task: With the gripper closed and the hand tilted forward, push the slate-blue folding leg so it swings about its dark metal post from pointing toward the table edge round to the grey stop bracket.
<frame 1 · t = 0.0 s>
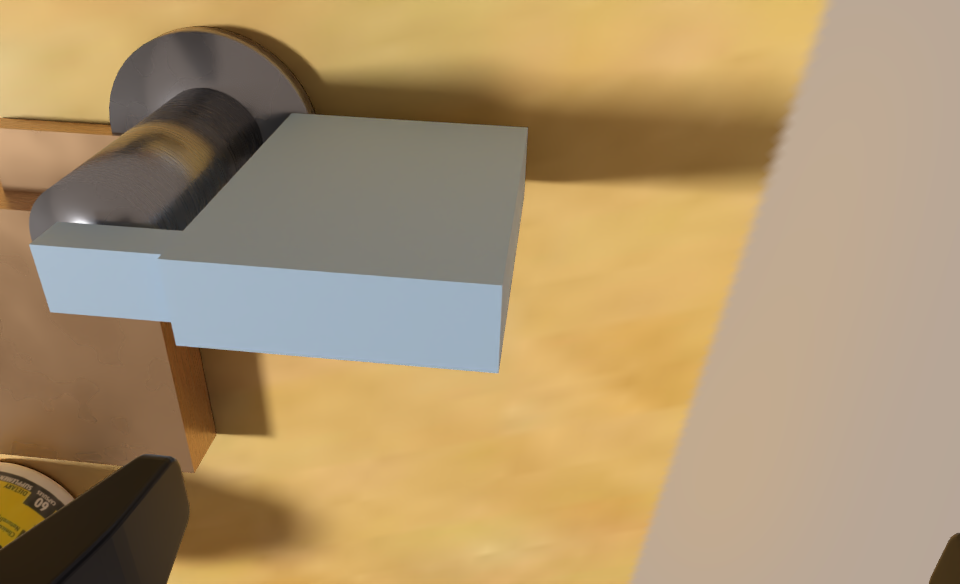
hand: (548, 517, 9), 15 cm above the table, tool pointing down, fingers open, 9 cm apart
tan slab: (220, 131, 23), on the table
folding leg: (317, 216, 19), point 5 cm above the table, hinge at 0.0°
supplement bottle: (28, 501, 33), on the table
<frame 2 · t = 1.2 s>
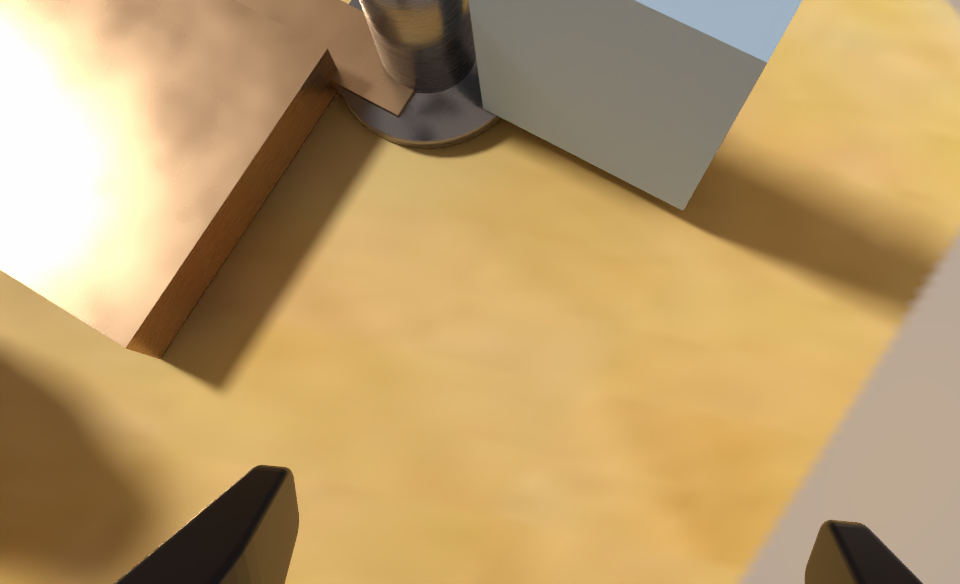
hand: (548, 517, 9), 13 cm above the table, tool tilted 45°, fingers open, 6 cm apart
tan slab: (431, 58, 25), on the table
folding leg: (557, 31, 19), point 5 cm above the table, hinge at 0.0°
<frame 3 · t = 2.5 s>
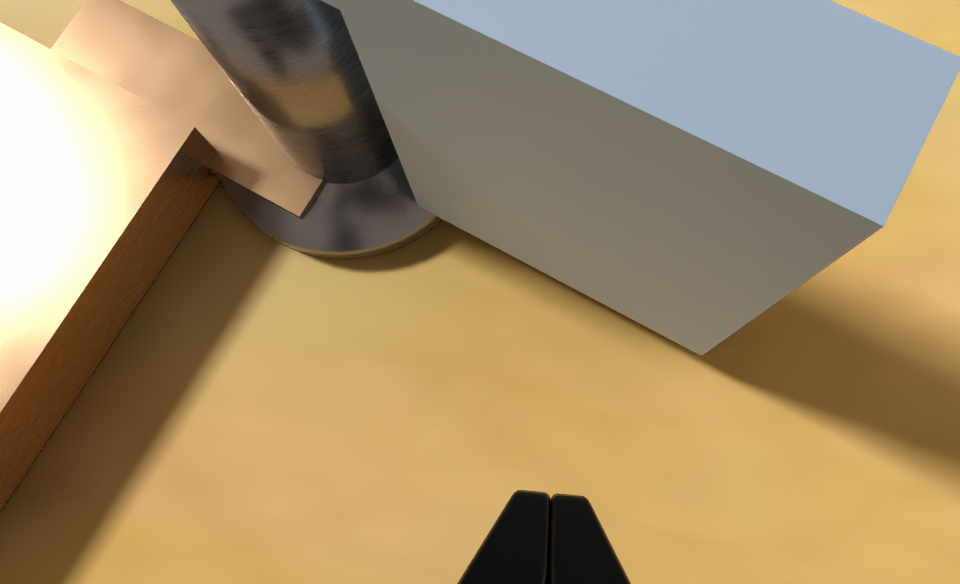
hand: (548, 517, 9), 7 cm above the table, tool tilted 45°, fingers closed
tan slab: (350, 131, 18), on the table
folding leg: (513, 118, 13), point 5 cm above the table, hinge at 0.0°
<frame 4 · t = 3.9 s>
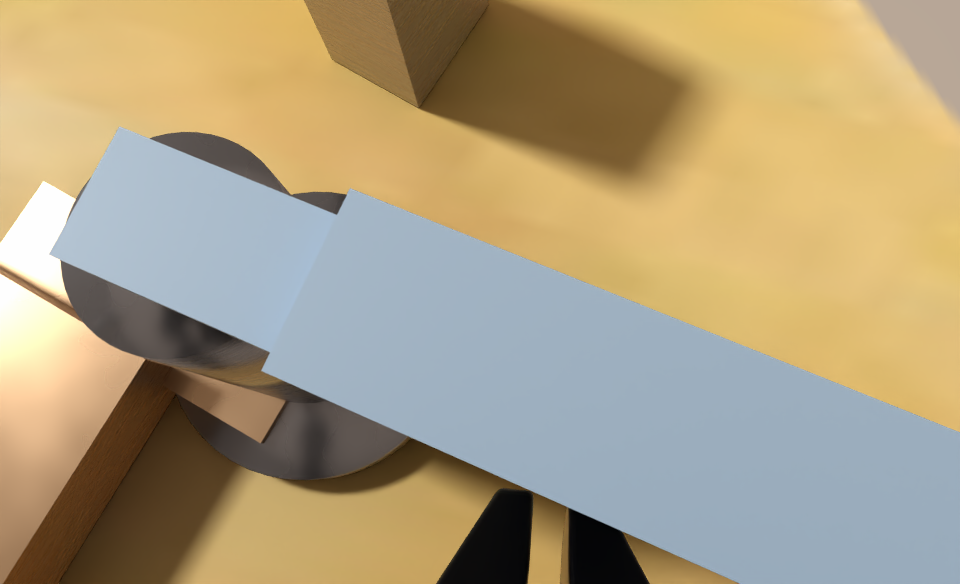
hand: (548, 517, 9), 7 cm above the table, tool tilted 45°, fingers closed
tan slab: (317, 335, 17), on the table
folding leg: (492, 391, 12), point 5 cm above the table, hinge at 5.6°, touching gripper
stop bracket: (410, 32, 18), on the table
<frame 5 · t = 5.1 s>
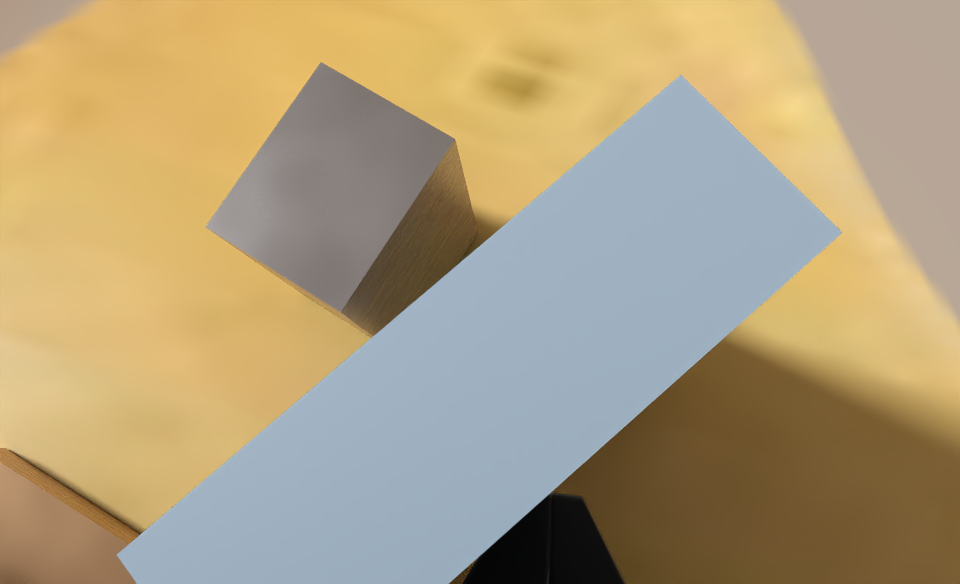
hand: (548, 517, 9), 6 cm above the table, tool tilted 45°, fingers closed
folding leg: (420, 485, 11), point 5 cm above the table, hinge at 70.0°, touching gripper
stop bracket: (390, 263, 16), on the table
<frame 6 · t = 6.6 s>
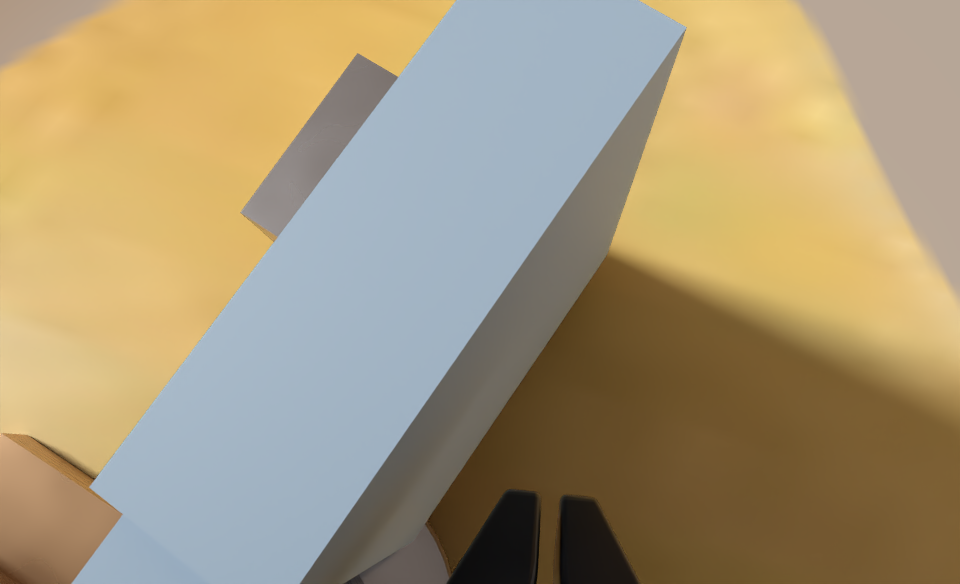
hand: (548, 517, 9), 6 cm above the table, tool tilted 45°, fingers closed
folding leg: (386, 412, 11), point 5 cm above the table, hinge at 85.8°
stop bracket: (414, 259, 17), on the table
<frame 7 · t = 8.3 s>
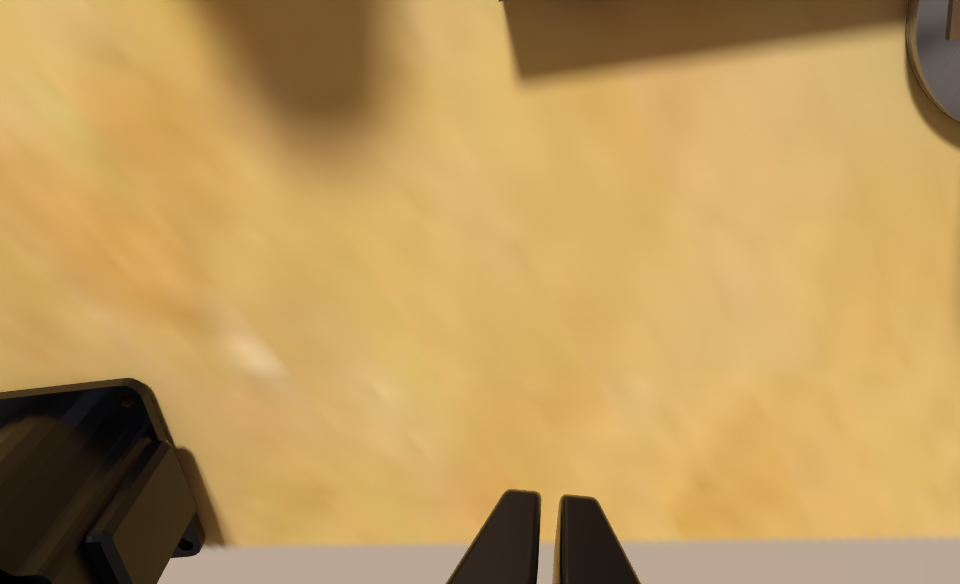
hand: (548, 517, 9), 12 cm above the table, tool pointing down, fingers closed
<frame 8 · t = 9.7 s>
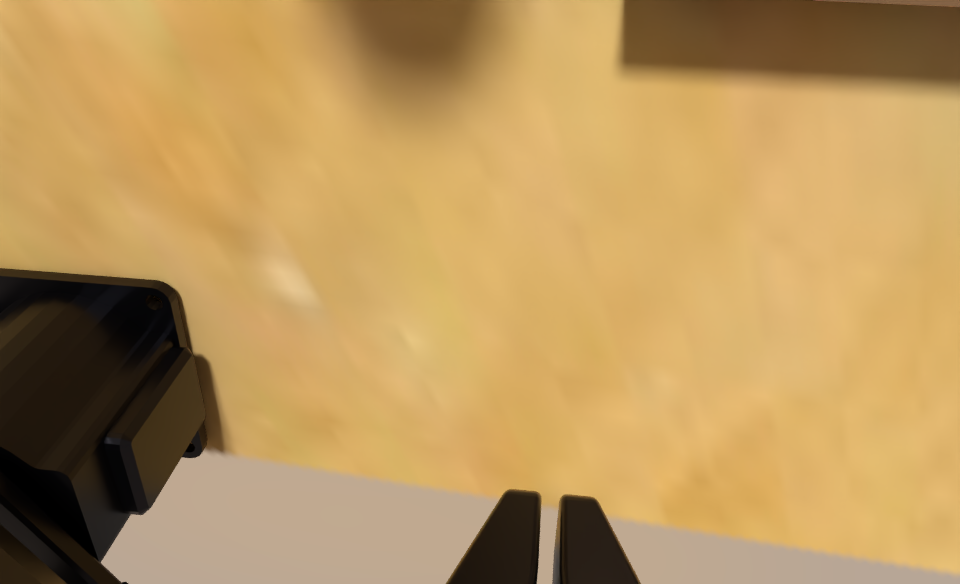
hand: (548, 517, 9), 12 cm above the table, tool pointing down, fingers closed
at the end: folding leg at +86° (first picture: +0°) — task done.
